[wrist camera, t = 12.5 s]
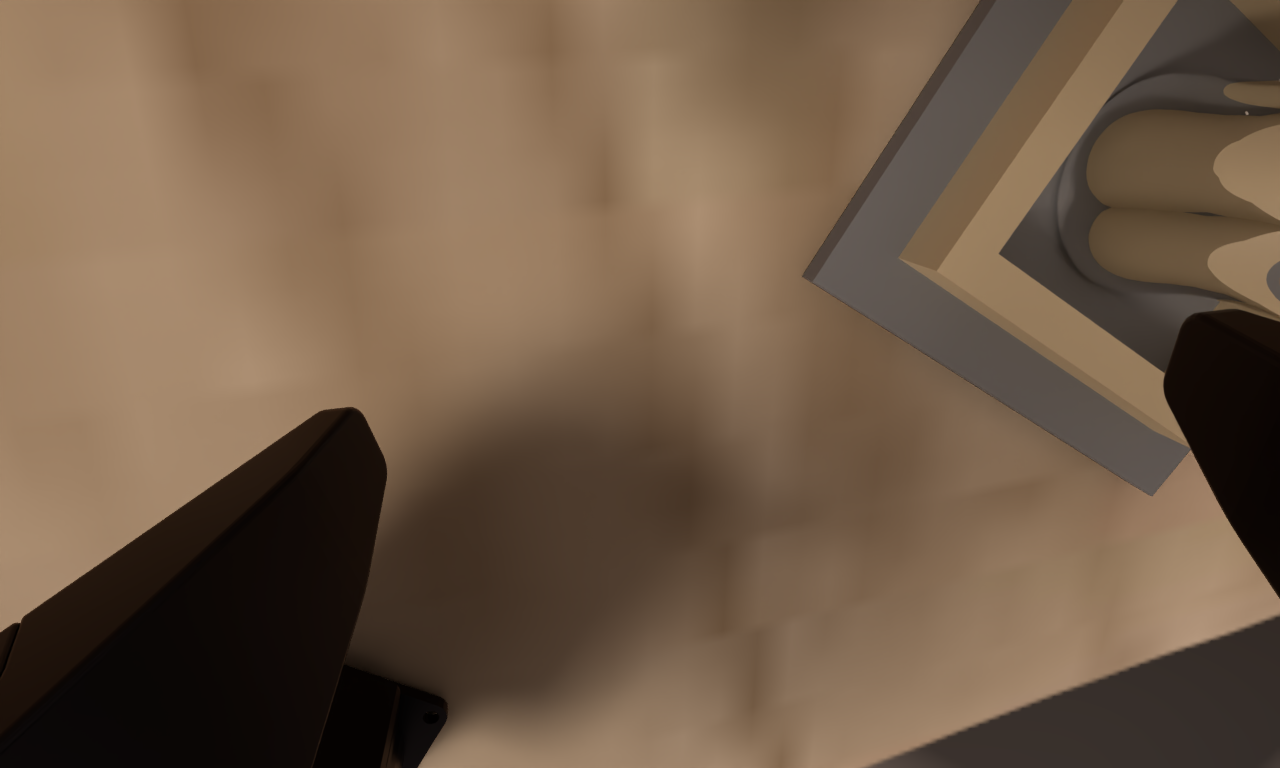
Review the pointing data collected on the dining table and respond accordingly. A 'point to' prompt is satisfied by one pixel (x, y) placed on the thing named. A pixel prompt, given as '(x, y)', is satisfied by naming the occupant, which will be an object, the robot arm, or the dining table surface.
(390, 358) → the dining table surface
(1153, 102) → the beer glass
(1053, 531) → the dining table surface
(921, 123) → the socket board
